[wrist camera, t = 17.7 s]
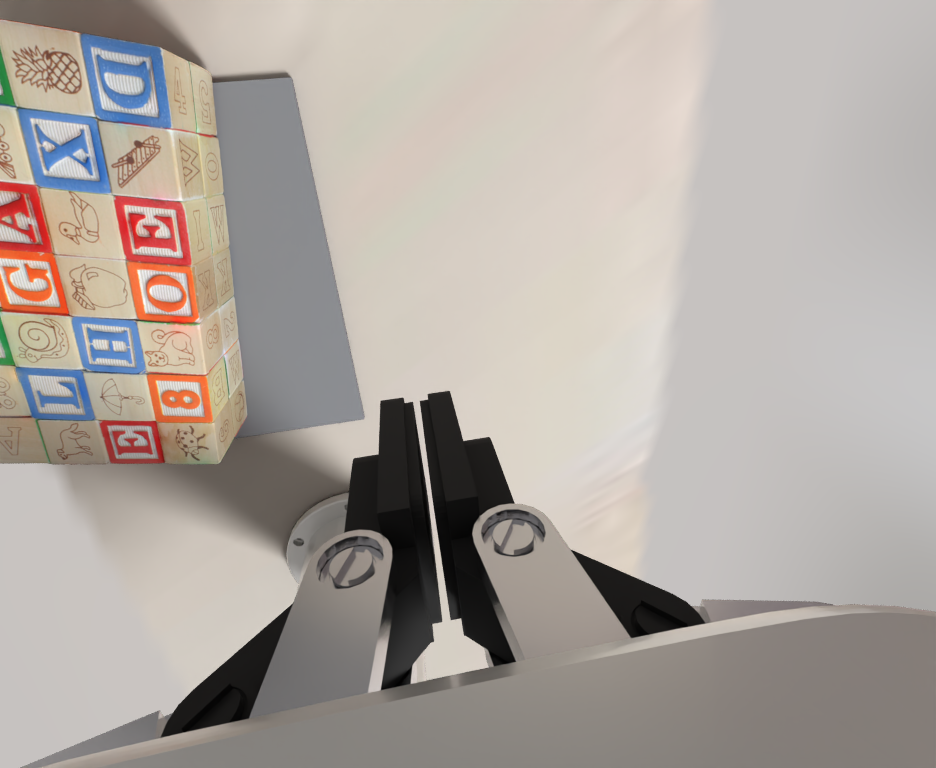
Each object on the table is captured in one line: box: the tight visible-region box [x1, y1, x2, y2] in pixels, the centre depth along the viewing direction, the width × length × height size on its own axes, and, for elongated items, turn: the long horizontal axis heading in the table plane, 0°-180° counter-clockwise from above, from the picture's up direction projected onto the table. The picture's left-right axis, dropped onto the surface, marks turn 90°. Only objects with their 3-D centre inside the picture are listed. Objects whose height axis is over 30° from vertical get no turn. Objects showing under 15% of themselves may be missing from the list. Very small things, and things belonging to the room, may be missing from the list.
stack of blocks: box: [0, 19, 247, 465], centre depth 25 cm, size 21×6×12 cm
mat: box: [212, 77, 365, 439], centre depth 29 cm, size 22×16×1 cm
